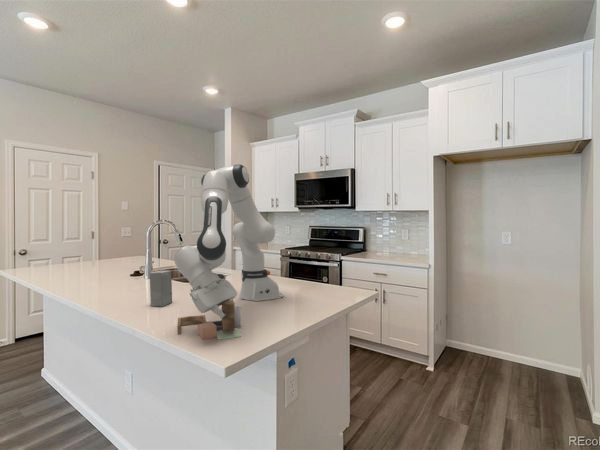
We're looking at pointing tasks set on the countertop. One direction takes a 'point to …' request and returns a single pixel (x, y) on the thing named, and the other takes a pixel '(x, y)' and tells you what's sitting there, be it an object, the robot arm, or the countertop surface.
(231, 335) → the green pad
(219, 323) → the hole frame
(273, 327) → the countertop surface
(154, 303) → the skincare box
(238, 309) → the grey jar
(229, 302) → the walnut block
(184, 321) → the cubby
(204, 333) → the terracotta block
